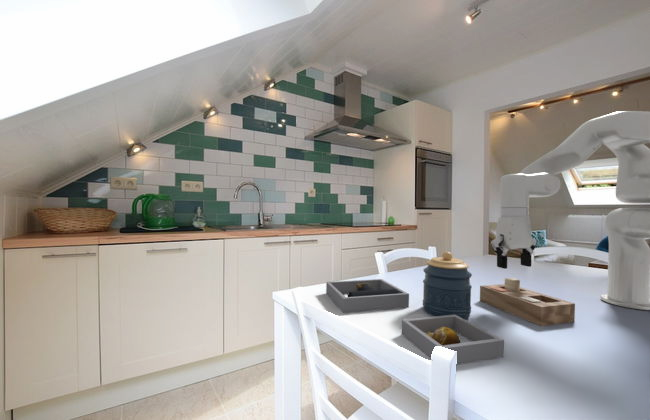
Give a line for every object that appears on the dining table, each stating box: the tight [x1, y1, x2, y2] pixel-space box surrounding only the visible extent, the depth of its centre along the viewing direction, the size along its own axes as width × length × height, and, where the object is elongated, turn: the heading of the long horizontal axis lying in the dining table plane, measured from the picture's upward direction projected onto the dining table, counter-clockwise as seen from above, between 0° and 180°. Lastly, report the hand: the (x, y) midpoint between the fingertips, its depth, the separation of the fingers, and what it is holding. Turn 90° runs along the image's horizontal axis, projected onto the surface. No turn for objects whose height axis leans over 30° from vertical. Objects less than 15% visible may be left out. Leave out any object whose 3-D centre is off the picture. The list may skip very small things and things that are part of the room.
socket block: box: [479, 283, 576, 327], centre depth 84 cm, size 12×20×5 cm, turn 16°
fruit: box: [424, 327, 461, 346], centre depth 63 cm, size 8×8×4 cm
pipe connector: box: [347, 283, 399, 297], centre depth 89 cm, size 12×5×15 cm
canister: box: [422, 251, 473, 320], centre depth 82 cm, size 13×13×18 cm
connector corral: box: [325, 278, 410, 314], centre depth 91 cm, size 21×18×4 cm
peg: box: [504, 277, 521, 292], centre depth 90 cm, size 4×4×8 cm
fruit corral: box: [401, 315, 505, 366], centre depth 62 cm, size 15×14×4 cm
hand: (514, 266), depth 90 cm, fingers open, 9 cm apart
